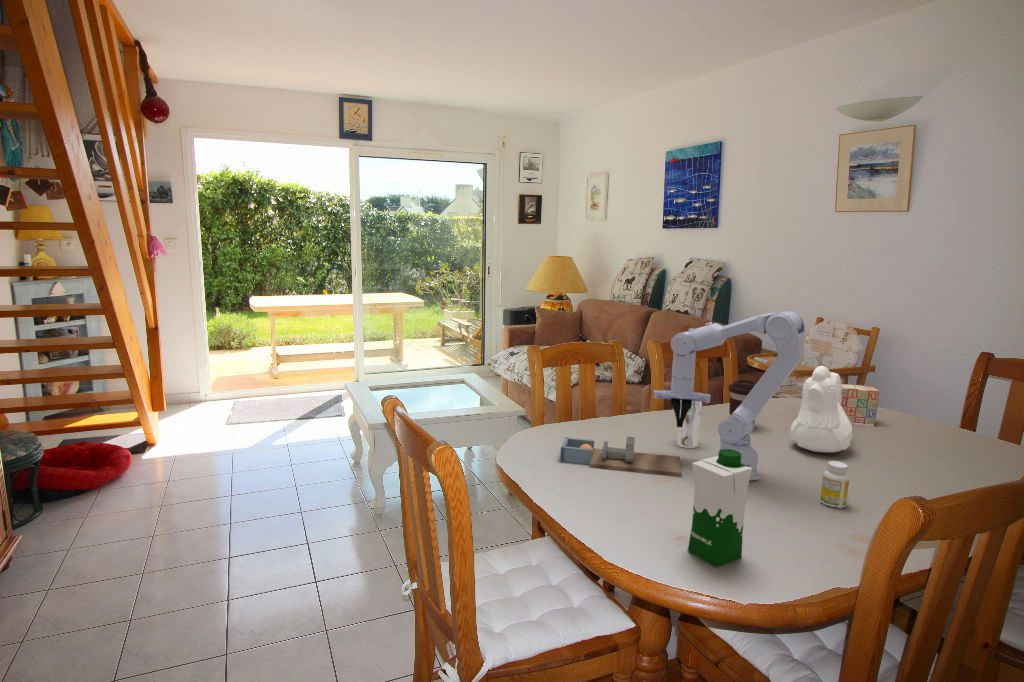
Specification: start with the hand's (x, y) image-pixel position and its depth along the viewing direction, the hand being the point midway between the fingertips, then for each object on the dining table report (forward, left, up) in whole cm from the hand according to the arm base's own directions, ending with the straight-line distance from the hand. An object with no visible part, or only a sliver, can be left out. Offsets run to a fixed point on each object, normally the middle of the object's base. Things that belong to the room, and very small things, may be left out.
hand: (679, 426), depth 166 cm
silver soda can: (+10, -9, -10) cm, 17 cm away
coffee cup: (+21, -35, -10) cm, 42 cm away
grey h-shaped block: (+2, +17, -8) cm, 19 cm away
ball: (+6, +24, -7) cm, 26 cm away
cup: (+7, +26, -9) cm, 28 cm away
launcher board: (0, +13, -9) cm, 16 cm away
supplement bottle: (-33, -21, -10) cm, 40 cm away
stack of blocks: (+21, -71, -10) cm, 75 cm away
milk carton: (-47, +19, -10) cm, 52 cm away
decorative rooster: (0, -48, -10) cm, 49 cm away
